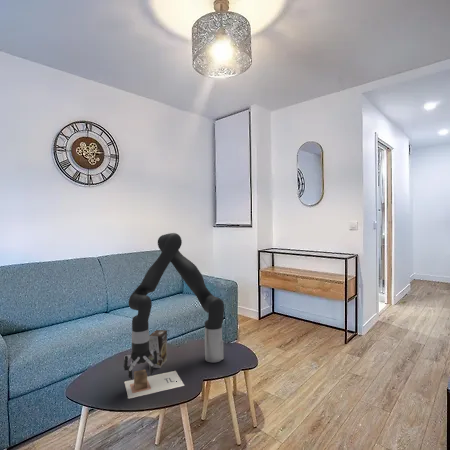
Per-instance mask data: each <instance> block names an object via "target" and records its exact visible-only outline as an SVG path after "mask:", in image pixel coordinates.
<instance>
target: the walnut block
mask: <svg viewBox="0 0 450 450" xmlns="http://www.w3.org/2000/svg"><path fill="white" fill-rule="evenodd" d="M147 377H148V372H147V370H146V369H141V370H140V369H139V370H135V371H133V380H134V387H135V390H140V389H145V388H147Z"/></svg>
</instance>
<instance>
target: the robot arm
mask: <svg viewBox="0 0 450 450" xmlns="http://www.w3.org/2000/svg"><path fill="white" fill-rule="evenodd" d="M182 241H183V240H182V237H181V236H180V234H178V233H176V232H168V233H165V234H162V235H160V236H159V237H158V239H157V246H158V249H159V250H160V252H161V253H160V254H159V256H158V258H157V259H156V260H155V261H154V262H153V263H152V264H151V266H150V267H149V269H148V270H147V271H146V273H145V275H144V277H143V279H142V280H141V283H140V284H138V286H136V289H134V291H133V292H132V293H131V294H130V297H129V299H128V306H129V308H130V309H131V310H134V311H137V315H134V316H133V317H132V319H131V330H132V331H131V354H126V353H125V354H124V356H123V369H124V371H127V372H128V375H127V376H128V378H129V380H133V369H134V368H135V366H136V365H139V364H141V363H142V364H145V363H148V367H149V368H148V369H149V376H153V373H154V367H153V366H154V365H155V364H157V363H158V362H157V351H156V350H155V349H153V350H152V351H150V350H149V335H150V332H149V331H150V330H149V329H150V328H149V325H150V324H149V318H150V316H151V311H152V307H153V302H152V299H151V298H150V296H148V294H150V293H153V292H155V290H156V289H157V286H158V284H159V283H160V281H161V279H162V277H163V274H164V273H165V271H166V269H167V268H168V266H169V265H170V263H171V264H172V265H173V268H174V269H175V270H176V272H177V273H178V274H179V275H180V277H181V279H182V280H183V281H184V283H185V284H186V285H187V287H188V288H189V289H190V291H191V292H192V293H193V294H194V295H195V296H196V299H197V300H198V302H199V303H200V304H199V305H201V308H202V309H203V310H204V311H205V312H206V313H208V315H207V320H205V321H204V360H205V361H206V362H208V363H211V364H212V363H214V364H215V363H219V362H221V361H222V360H224V358H225V357H224V340H223V322H224V319H225V318H224V317H225V316H224V312H225V311H224V310H225V306H224V304H225V303H224V301H223V300H222V299H221V298H220V297H216V296H214V295H213V294H212V293H211V292H210V290H209V288H207V286H206V284H205V280H204V279H205V278H204V276H203V275H202V273H201V271H200V270H199V269H198V267H197V265H196V264H194V262H192V261H191V260H190V259H188V258H187V257H186V256H184V255H183V254H182V253H181V251H179V250H180V249H181V246H182V244H183V242H182ZM150 354H152V355H153V358H154V361H151V360H150V359H149V356H150ZM130 359H131V361H130ZM128 361H130V363H129V362H128ZM128 364H129V365H128ZM149 364H150V365H149Z"/></svg>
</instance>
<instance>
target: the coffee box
mask: <svg viewBox="0 0 450 450" xmlns="http://www.w3.org/2000/svg"><path fill="white" fill-rule="evenodd" d="M153 349H155V350H156V351H157V362H158V363H157V364H155V365H154V366H153V369H154V368H155V369H161V368H162V366H163V365H164V364H166V362H167V361H168V330H165V329H155V330H154V331H153V332H152V333H151V334H149V350H150V351H152V350H153ZM148 358H149V359H150V360H151V361H154V358H153V355H152V354H150V356H149V357H148ZM149 365H150V364H148V366H149Z"/></svg>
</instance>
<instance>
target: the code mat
mask: <svg viewBox="0 0 450 450" xmlns="http://www.w3.org/2000/svg"><path fill="white" fill-rule="evenodd" d="M176 381H177V382H176ZM124 386H125V390H126V393H127V399H133V398H137V397H142V396H147V395H151V394H155V393H158V392H159V393H160V392H163V391H167V390H171V389H176V388H181V387H184V386H185V384H184V382H183V381H182V378H181V377H180V376H179V374H178V372H177V370H174V371H168V372H163V373H159V374H154V375H153V374H152V375H149V376H148V375H147V388H145V389H140V390H135V387H134V379H129V380H126V381H124Z"/></svg>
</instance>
